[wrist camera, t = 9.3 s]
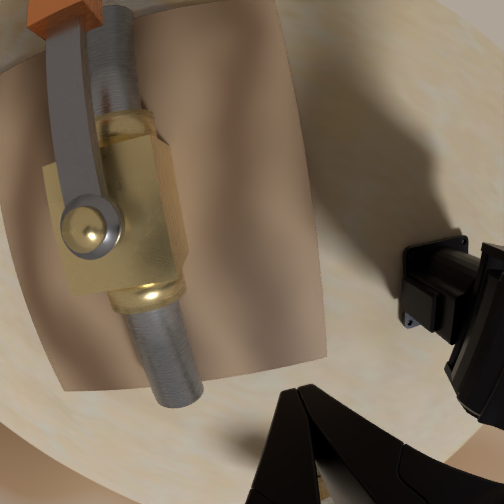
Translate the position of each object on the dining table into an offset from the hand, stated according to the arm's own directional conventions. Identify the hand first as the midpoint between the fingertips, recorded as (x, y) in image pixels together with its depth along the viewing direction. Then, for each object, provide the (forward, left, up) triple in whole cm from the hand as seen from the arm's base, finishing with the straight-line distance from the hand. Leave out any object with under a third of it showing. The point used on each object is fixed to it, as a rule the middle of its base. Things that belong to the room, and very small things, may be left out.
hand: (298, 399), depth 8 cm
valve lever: (+6, -11, -6) cm, 14 cm away
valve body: (+6, -5, -13) cm, 15 cm away
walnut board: (+6, -5, -13) cm, 15 cm away
